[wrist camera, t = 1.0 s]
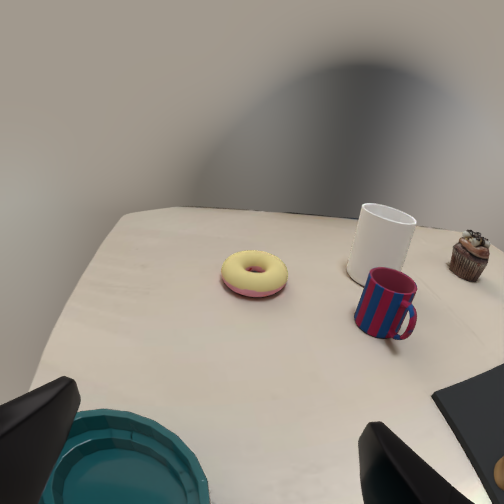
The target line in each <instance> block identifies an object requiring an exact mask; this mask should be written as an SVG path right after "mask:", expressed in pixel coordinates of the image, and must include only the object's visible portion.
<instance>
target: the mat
mask: <svg viewBox="0 0 504 504" xmlns="http://www.w3.org/2000/svg"><path fill="white" fill-rule="evenodd" d="M432 398H433V399H434V401H435V403H436V404H437V406H438V407H439V409H440V411H441V412H442V414H443V415H444V417H445V419H446V420H447V422H448V424H449V425H450V427H451V428H452V430H453V432H454V433H455V435H456V437H457V439H458V440H459V442H460V444H461V445H462V447H463V449H464V451H465V452H466V454H467V456H468V458H469V459H470V461H471V463H472V465H473V467H474V468H475V470H476V472H477V474H478V476H479V478H480V479H481V481H482V483H483V485H484V487H485V489H486V491H487V493H488V495H489V497H490V499H491V501H492V503H493V504H504V490H502V489H500V488H499V487H498V486H497V484H496V482H495V479H494V468H495V465H496V463H497V462H498V460H500V459H501V458H502V457H503V456H504V364H501V365H499V366H497V367H495V368H493V369H491V370H489V371H486V372H484V373H482V374H480V375H477V376H475V377H472V378H470V379H468V380H465V381H463V382H460V383H457V384H455V385H452V386H450V387H447V388H444V389H441V390H438V391H436V392H434V393H433V395H432Z"/></svg>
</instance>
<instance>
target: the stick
mask: <svg viewBox="0 0 504 504" xmlns="http://www.w3.org/2000/svg"><path fill="white" fill-rule="evenodd" d="M494 479H495V482H496V484H497V486H498V487H499V488H500V489H502V490H504V456H503V457H502V458H501V459H500V460H498V462H497V463H496V465H495V468H494Z"/></svg>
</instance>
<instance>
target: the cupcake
mask: <svg viewBox="0 0 504 504" xmlns="http://www.w3.org/2000/svg"><path fill="white" fill-rule="evenodd" d="M473 233H474V235H473ZM489 247H490V242H489V241H488V239H486V238H484V237H481V234H480V233H479V232H476V233H475V232H473V231H472V230H467V232H463V237H461V238H460V239H459V242H458V243H457V244H455V245H454V246H453V252H452V258H451V263H450V269H451V271H453V272H454V273H455V274H456V275H457V276H459V277H460V278H462V279H464V280H467V281H472V282H476V281H477V280H478V278H479V277H480V275H481V273H482V272H483V270H484V269H485V267H486V266H487V263H488V259H489Z"/></svg>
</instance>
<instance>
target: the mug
mask: <svg viewBox="0 0 504 504" xmlns="http://www.w3.org/2000/svg"><path fill="white" fill-rule="evenodd" d="M416 223H417V222H416V220H415V219H414V218H413V217H412V216H410V215H408V214H406V213H404V212H402V211H400V210H397V209H394V208H392V207H388V206H384V205H380V204H373V203H366V204H363V205H362V208H361V213H360V217H359V221H358V225H357V229H356V233H355V237H354V240H353V244H352V248H351V252H350V255H349V259H348V264H347V272H348V274H349V275H350V277H351V278H352V279H353V280H354V281H356V282H357V283H359V284H361V285H363V286H365V284H366V281H367V278H368V274H369V272H370V270H371V269H373V268H376V267H387V268H391V269H395V270H398V271H400V272H401V269H402V267H403V264H404V261H405V258H406V255H407V252H408V249H409V246H410V243H411V239H412V236H413V233H414V230H415V226H416Z"/></svg>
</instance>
